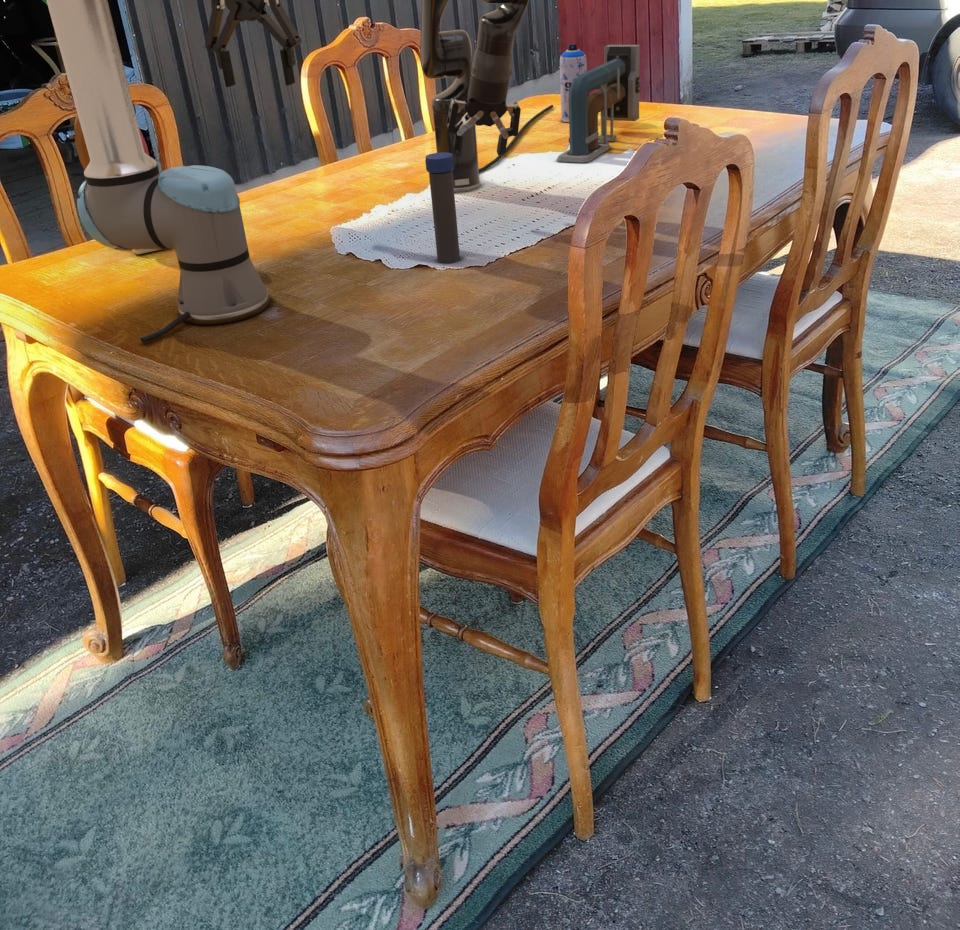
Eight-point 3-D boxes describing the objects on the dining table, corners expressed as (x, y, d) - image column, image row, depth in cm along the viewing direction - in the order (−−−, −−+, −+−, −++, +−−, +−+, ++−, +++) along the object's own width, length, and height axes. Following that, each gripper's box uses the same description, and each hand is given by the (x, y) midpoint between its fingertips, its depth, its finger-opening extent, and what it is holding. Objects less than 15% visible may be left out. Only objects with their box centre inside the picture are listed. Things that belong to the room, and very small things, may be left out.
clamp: (587, 162, 233) (585, 68, 223) (554, 161, 237) (551, 68, 226) (639, 130, 259) (639, 44, 248) (608, 129, 263) (607, 44, 252)
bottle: (435, 257, 181) (425, 157, 172) (457, 254, 182) (448, 154, 173) (439, 264, 178) (429, 162, 168) (462, 261, 179) (453, 159, 169)
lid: (424, 168, 173) (422, 154, 172) (451, 164, 174) (450, 150, 173) (429, 174, 169) (427, 160, 168) (456, 171, 170) (455, 156, 169)
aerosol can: (559, 122, 275) (557, 47, 265) (562, 117, 282) (559, 42, 272) (587, 121, 274) (585, 45, 263) (589, 115, 280) (587, 41, 270)
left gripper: (306, -38, 185) (323, 79, 195) (192, -31, 192) (215, 83, 202) (289, -35, 178) (307, 86, 189) (172, -27, 186) (196, 89, 196)
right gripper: (522, 68, 189) (508, 146, 200) (451, 62, 186) (441, 142, 197) (530, 83, 184) (516, 163, 195) (457, 78, 181) (446, 159, 192)
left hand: (260, 85), depth 196 cm, fingers open, 13 cm apart
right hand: (478, 152), depth 196 cm, fingers open, 8 cm apart
